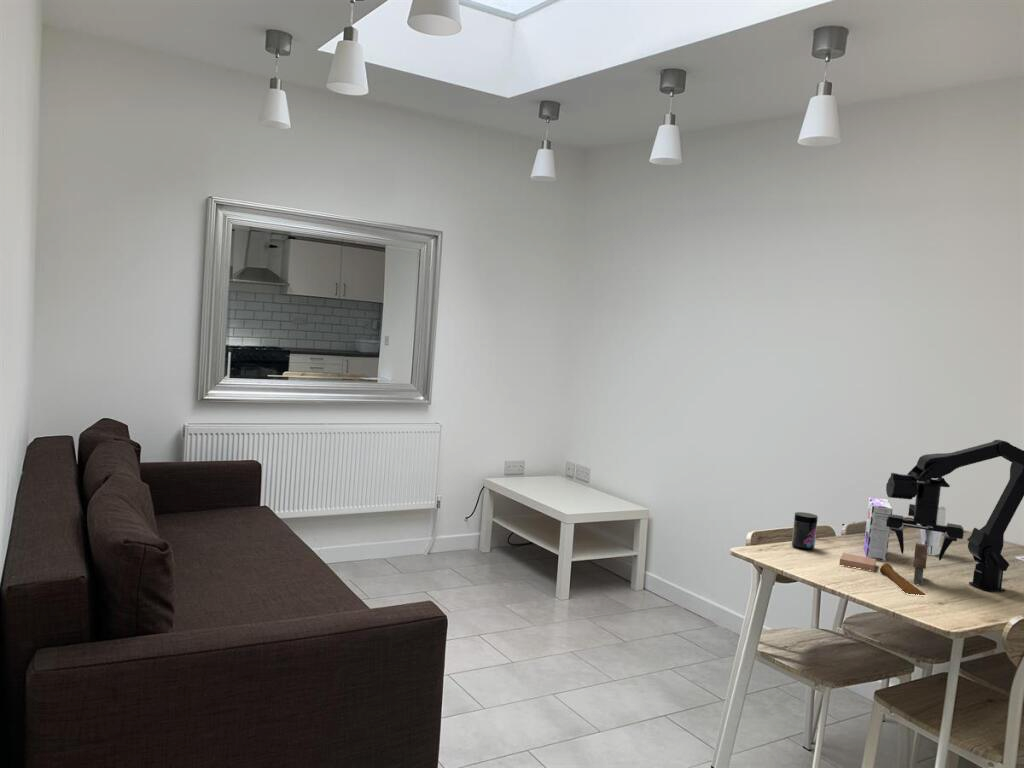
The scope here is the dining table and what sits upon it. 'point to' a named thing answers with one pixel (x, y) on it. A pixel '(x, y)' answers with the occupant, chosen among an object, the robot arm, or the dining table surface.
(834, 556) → the dining table surface
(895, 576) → the primitive tool
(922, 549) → the two-tone stacked blocks
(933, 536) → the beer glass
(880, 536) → the candy box
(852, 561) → the tan block
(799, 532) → the supplement container
